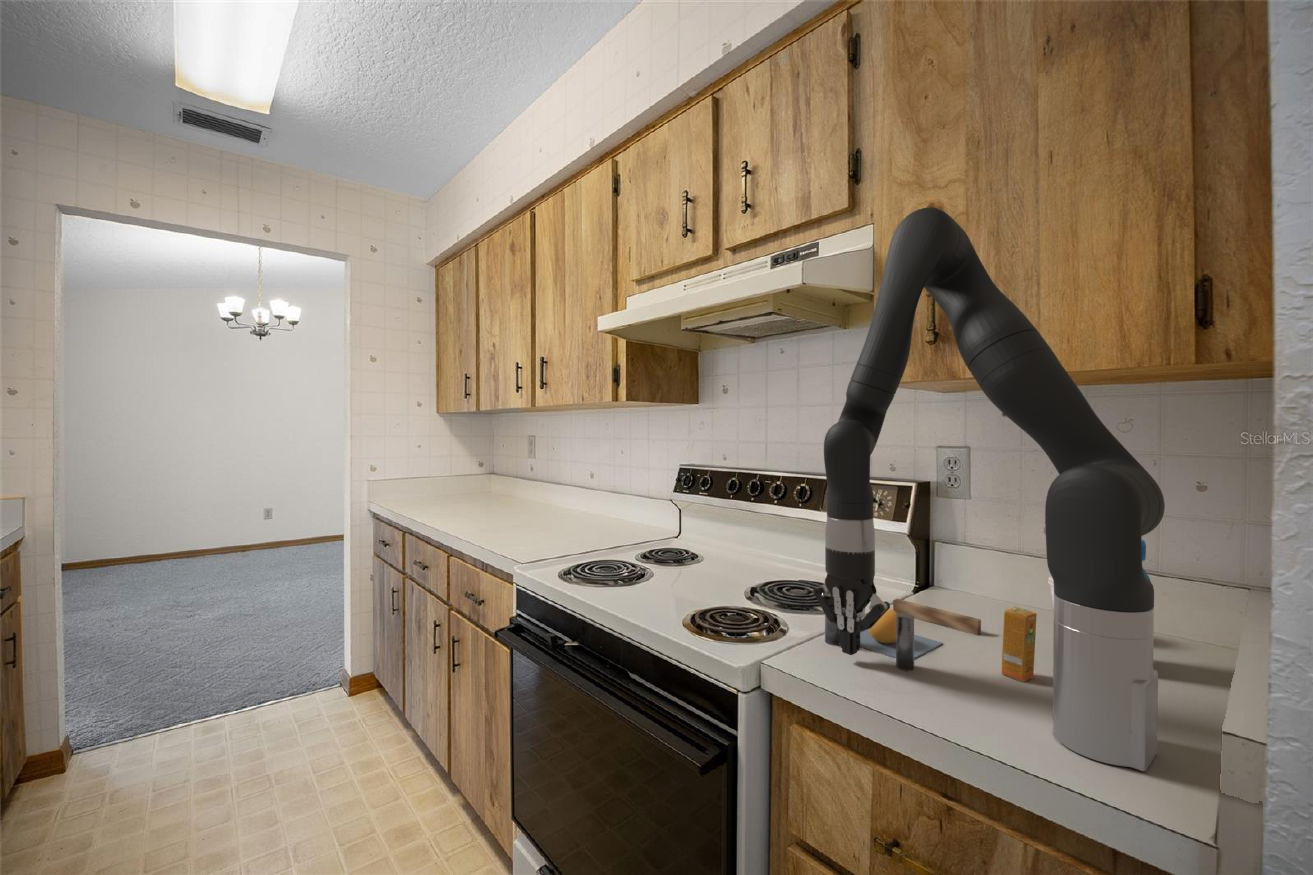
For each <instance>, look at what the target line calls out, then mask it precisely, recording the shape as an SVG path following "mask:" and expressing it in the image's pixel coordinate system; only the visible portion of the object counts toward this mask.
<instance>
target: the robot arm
mask: <svg viewBox="0 0 1313 875" xmlns="http://www.w3.org/2000/svg"><path fill="white" fill-rule="evenodd" d="M924 289H925V290H926V292H927V293H929V295H930V296H931V297H932V298H933V299H934V300H935V302H936V303H937V304H938V306H939V307H940V308H941V310H942V311H943V313H944V314H945V316H946V317H947V319H948V322H949V323H950V327H951V329H952V333H953V336H954V340H955V343H956V346H957V349H958V351H959V354H960V355H961V356H960V357H961V358H962V360H963V362H964V365H965V366H966V367H967V369H968V371H969V372H970V374H971V376H972V377H973V378H974V380H975V382H976V383H977V384H978V386H979V388H980V389H981V390H982V392H983V394H984V395H985V396H986V397H987V398H988V401H990V402H991V403H992V404H993V405H994V406H995V407H996V408H997V409H998V410H999V411H1000V412H1001V413H1002V414H1003V415H1004V416H1006V417H1007V418H1008V419H1009V420H1010V421H1012V422H1013V423H1014V424H1015V425H1016V426H1018V427H1019V428H1020V429H1021V430H1022V431H1023V432H1025V433H1026V434H1027V435H1029V437H1031V439H1032V440H1034V441H1035V443H1036V444H1038V445H1039V446H1040V448H1041V449H1042V451H1044V453H1045V454H1046V455H1047V457H1048V459H1049V460H1050V461H1051V463H1052V465H1053V466H1054V468H1055V470H1056V471H1057V473H1058V475H1057V476H1056V477H1055V479H1054V480H1053V481H1051V484H1050V485H1049V488H1048V491H1047V494H1046V499H1045V505H1044V506H1045V507H1044V521H1045V522H1044V523H1045V524H1044V525H1045V526H1044V527H1045V545H1046V546H1045V548H1046V549H1045V551H1046V562H1047V563H1046V564H1047V567H1048V568H1047V569H1048V571H1049V574H1050V576H1052V578H1053V581H1054V608H1053V645H1052V646H1053V647H1052V648H1053V654H1052V656H1053V657H1052V658H1053V662H1052V663H1053V665H1052V666H1053V667H1052V669H1053V670H1052V672H1053V674H1052V680H1053V681H1052V682H1053V683H1052V731H1053V735H1054V738H1056V740H1057V741H1058V742H1059V743H1060V744H1062V745H1063V746H1064V747H1066V748H1068V749H1069V750H1071V751H1073V752H1074V753H1076V754H1078V755H1081V756H1084V757H1086V758H1089V759H1091V760H1094V761H1096V762H1097V761H1098V762H1101V763H1105V764H1109V765H1113V766H1119V767H1127V768H1131V769H1136V770H1139V771H1141V772H1146V771H1147V769H1148V767H1149V766H1150V764H1151V763H1152V761H1153V760H1154V758H1155V757H1156V755H1157V753H1158V727H1159V726H1158V722H1159V721H1158V719H1159V716H1158V715H1159V713H1158V712H1159V673H1158V671H1157V670H1156V669H1154V628H1155V625H1154V621H1155V620H1154V618H1155V611H1154V610H1155V608H1154V607H1155V590H1154V589H1155V588H1154V585H1153V583H1152V581H1151V580H1150V581H1151V582H1150V581H1149V580H1148V579H1146V577H1145V575H1144V572H1143V569H1144V568H1142V567H1143V563H1142V540H1143V538H1142V537H1143V536H1145V535H1147V534H1149V533H1151V532H1152V531H1154V529H1156V528H1157V527H1158V526H1159V525H1160V523H1161V521H1162V520H1163V517H1164V515H1165V514H1164V513H1165V509H1166V507H1165V504H1166V503H1165V500H1164V495H1163V491H1162V489H1161V488H1160V486H1159V484H1158V482H1157V480H1155V479H1154V478H1153V476H1152V475H1151V474H1150V473H1149V472H1148V471H1147V470H1146V468H1144V466H1143V465H1142V464H1140V462H1139V461H1138V460H1137V459H1136V458H1135V457H1134V455H1132V453H1130V452H1129V450H1127V449H1126V447H1125V446H1124V445H1123V444H1122V443H1121V442H1120V441H1119V440H1118V438H1117V437H1115V435H1114V434H1113V433H1112V432H1111V431H1110V430H1109V429H1108V428H1107V426H1106V425H1105V424H1104V423H1103V421H1101V419H1100V418H1099V417H1098V414H1096V412H1095V411H1094V409H1093V408H1092V406H1091V405H1090V403H1089V402H1088V400H1087V398H1086V397H1085V396H1084V394H1083V393H1082V391H1081V390H1080V388H1079V387H1078V386H1077V383H1075V381H1074V380H1073V378H1072V377H1071V376H1070V374H1069V373H1068V371H1067V369H1065V367H1064V366H1063V365H1062V363H1061V361H1060V360H1059V359H1058V357H1057V355H1056V353H1055V352H1054V350H1052V348H1051V346H1050V345H1049V344H1048V343H1047V341H1046V340H1045V339H1044V337H1043V336H1042V334H1041V333H1040V332H1039V331H1038V329H1037V328H1036V327H1035V326H1034V324H1033V323H1032V322H1031V321H1030V320H1029V319H1028V317H1027V316H1026V315H1025V314H1024V313H1023V312H1022V311H1021V309H1019V307H1018V306H1016V304H1014V303H1013V301H1012V300H1011V299H1010V298H1008V297H1007V295H1005V294H1004V293H1003V292H1002V291H1001V290H1000V289H999V288H998V286H997V285H996V284H995V283H994V281H993V280H992V278H991V277H990V275H989V274H988V272H987V270H986V267H985V266H984V265H983V263H982V261H981V259H980V257H979V256H978V253H977V251H976V250H975V247H974V246H973V243H972V241H971V239H970V238H969V236H968V234H967V232H966V231H965V230H964V229H963V228H962V227H961V225H959V224H958V223H957V221H956V220H955V219H954V218H952V217H951V215H949V214H948V213H947V212H946V211H945V210H942V209H940V208H937V207H933V206H932V207H929V206H927V207H922V208H918V209H916V210H914V211H912V212H911V213H909V214H908V215H906V216H905V217H904V218H903V219H902V220H901V222H900V223H899V224H898V226H896V228H895V230H894V232H893V234H892V237H891V240H890V244H889V247H888V252H887V257H886V261H885V266H884V270H883V274H882V279H881V282H880V286H879V291H878V296H877V299H876V303H875V306H874V311H873V315H872V319H871V322H870V325H869V329H868V332H867V335H866V338H865V342H864V344H863V346H862V349H861V352H860V354H859V357H858V360H857V362H856V364H855V367H854V370H853V372H852V374H851V377H850V380H849V382H848V384H847V389H846V392H845V396H846V400H845V403H844V406H843V408H842V411H841V413H840V416H839V418H838V421H837V422H836V423H834V424H833V425H832V426H830V427H829V429H827V432H826V433H825V436H824V441H823V458H824V459H823V461H824V470H825V478H826V484H827V494H826V524H825V530H824V531H825V536H824V538H825V548H824V549H825V551H824V553H825V565H824V566H825V567H824V570H825V572H826V577H825V578H824V584H822V585H821V586H818V587H815V588H814V589H812V593H813V595H814V597H815V599H816V600H817V602H818V603H819V605H820V607H821V609H822V612H823V613H824V616H825V615H826V616H827V618H828V620H829V621H830V622H831V623H833V622H834V623H835V624H837V625H838V628H839V629H840V644H839V646H840V647H839V648H840V649H841V652H842V653H843V654H847V655H849V656H853V655H855V654H857V653H858V652H859V651H860V649H861V646H860V632H862V631H865V630H867V629H870V628H872V627H873V625H874V624H875V623H876V622H877V621H878V620H879V619H880V618H881V617H882V616H883V615H884V614H885V613H886V611H887V610H888V609H891V604H890V603H889V602H888V601H887V600H886V601H883V600H882V599H881V598H880V597H879V595H877V591H878V590H877V587H876V585H875V583H874V582H875V581H874V580H875V575H876V531H875V530H876V529H875V523H874V490H873V487H872V485H871V479H870V478H871V455H872V453H873V452H874V449H875V447H876V445H877V442H878V441H879V437H880V435H881V432H882V429H883V425H884V422H885V418H886V415H887V412H888V409H889V407H890V405H891V404H892V402H893V400H894V398H895V395H896V392H897V390H898V388H899V386H900V385H901V384H900V383H901V381H902V378H903V376H904V374H905V370H906V368H907V365H908V361H909V357H910V353H911V346H912V336H913V328H914V322H915V317H916V311H917V308H918V305H919V304H918V303H919V300H920V298H921V296H922V292H923V290H924ZM868 605H869V607H868V609H869V611H868V613H866V607H867V606H868ZM865 613H866V614H865ZM864 615H865V616H864Z"/></svg>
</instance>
